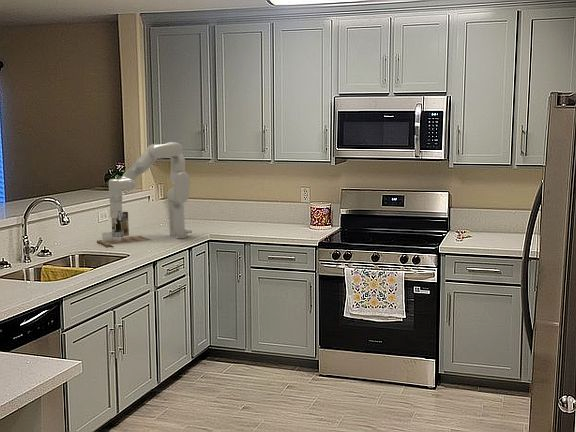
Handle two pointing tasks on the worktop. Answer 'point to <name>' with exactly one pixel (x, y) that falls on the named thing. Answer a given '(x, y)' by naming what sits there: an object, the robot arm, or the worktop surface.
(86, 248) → the worktop surface
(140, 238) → the walnut board
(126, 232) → the coffee box
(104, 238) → the clear container
